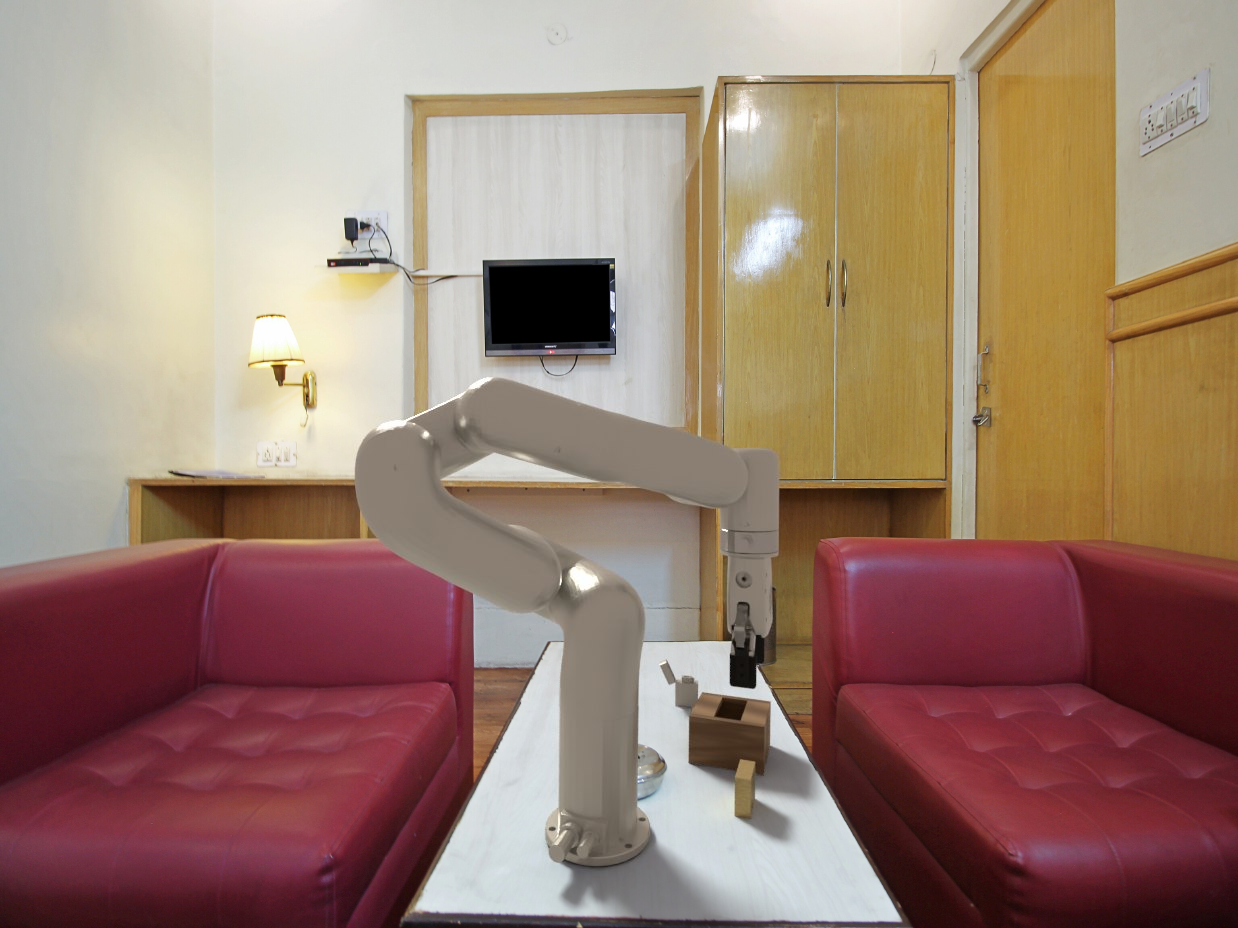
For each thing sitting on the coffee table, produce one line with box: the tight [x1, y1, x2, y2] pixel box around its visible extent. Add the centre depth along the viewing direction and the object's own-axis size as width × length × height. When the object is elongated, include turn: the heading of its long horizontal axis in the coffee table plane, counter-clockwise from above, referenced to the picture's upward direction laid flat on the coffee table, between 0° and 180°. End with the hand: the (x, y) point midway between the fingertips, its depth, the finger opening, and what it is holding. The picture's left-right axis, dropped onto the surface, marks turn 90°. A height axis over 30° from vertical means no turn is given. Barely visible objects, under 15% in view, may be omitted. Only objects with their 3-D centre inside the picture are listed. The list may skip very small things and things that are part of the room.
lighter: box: [659, 659, 699, 708], centre depth 114 cm, size 7×2×8 cm, turn 82°
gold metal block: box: [733, 759, 756, 820], centre depth 81 cm, size 5×2×5 cm, turn 161°
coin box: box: [687, 691, 772, 776], centre depth 95 cm, size 10×11×7 cm
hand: (747, 673), depth 81 cm, fingers open, 9 cm apart
